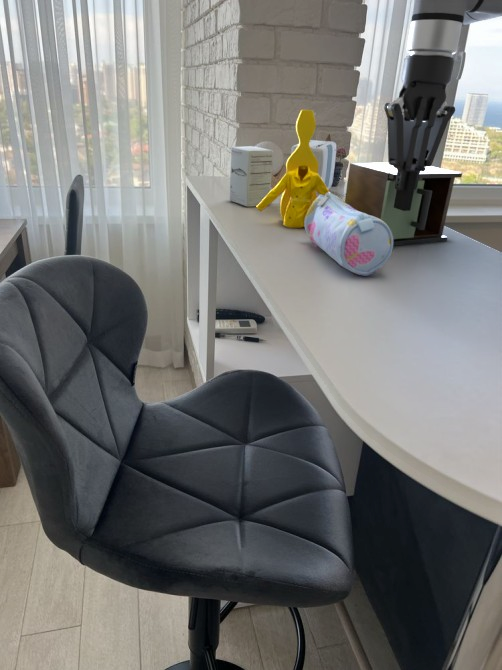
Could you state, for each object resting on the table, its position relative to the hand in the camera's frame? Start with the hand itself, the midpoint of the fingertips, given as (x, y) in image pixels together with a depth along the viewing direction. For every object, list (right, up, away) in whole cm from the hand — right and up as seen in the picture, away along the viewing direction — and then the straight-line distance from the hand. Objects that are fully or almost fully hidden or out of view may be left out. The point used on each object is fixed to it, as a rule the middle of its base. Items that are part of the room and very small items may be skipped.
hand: (401, 208), depth 88 cm
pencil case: (-11, -9, -2) cm, 14 cm away
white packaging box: (-27, +10, +35) cm, 45 cm away
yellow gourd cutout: (-10, +15, +47) cm, 50 cm away
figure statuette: (-17, +1, +18) cm, 24 cm away
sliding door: (+1, -5, +5) cm, 7 cm away
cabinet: (+2, -1, +15) cm, 15 cm away
